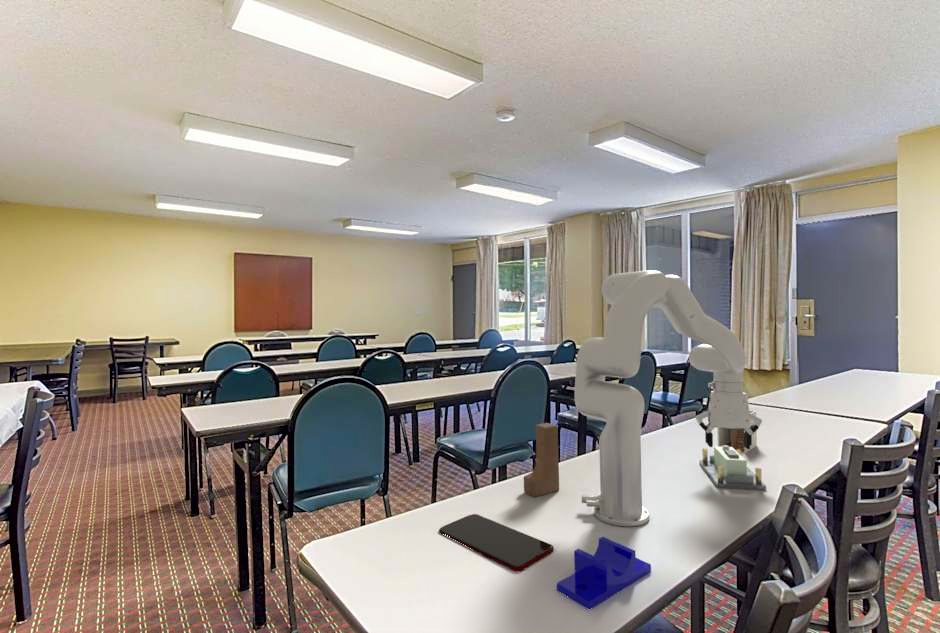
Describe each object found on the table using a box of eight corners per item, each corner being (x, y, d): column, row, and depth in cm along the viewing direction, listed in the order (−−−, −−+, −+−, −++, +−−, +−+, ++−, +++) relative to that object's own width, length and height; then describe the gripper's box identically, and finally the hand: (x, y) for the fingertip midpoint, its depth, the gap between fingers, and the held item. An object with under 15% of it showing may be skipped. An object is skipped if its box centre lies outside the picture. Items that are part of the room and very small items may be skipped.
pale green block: (726, 479, 133) (726, 456, 133) (714, 464, 146) (713, 443, 145) (746, 480, 132) (746, 457, 132) (732, 465, 144) (732, 443, 144)
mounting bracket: (618, 558, 96) (617, 529, 96) (651, 573, 91) (650, 542, 91) (557, 592, 86) (556, 559, 85) (589, 612, 80) (588, 576, 80)
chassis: (716, 487, 130) (716, 468, 130) (699, 463, 150) (699, 447, 150) (766, 490, 128) (765, 470, 128) (741, 465, 147) (741, 448, 147)
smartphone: (474, 511, 118) (556, 544, 100) (474, 517, 118) (557, 552, 100) (435, 528, 110) (517, 568, 91) (435, 535, 110) (517, 576, 91)
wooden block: (533, 497, 127) (531, 430, 127) (523, 492, 131) (521, 426, 131) (559, 490, 132) (558, 425, 131) (549, 485, 135) (547, 422, 135)
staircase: (717, 449, 166) (716, 401, 165) (729, 442, 173) (728, 396, 173) (745, 454, 159) (744, 404, 159) (756, 447, 167) (755, 399, 166)
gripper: (698, 388, 137) (698, 448, 137) (766, 390, 133) (766, 452, 133) (692, 384, 144) (692, 441, 144) (756, 386, 140) (756, 445, 140)
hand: (728, 446), depth 138 cm, fingers open, 9 cm apart
